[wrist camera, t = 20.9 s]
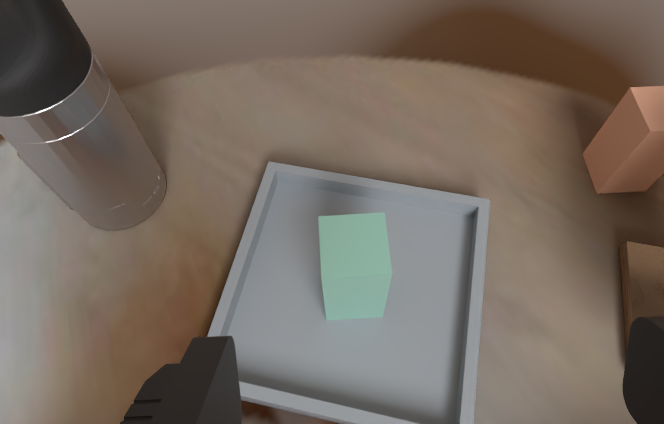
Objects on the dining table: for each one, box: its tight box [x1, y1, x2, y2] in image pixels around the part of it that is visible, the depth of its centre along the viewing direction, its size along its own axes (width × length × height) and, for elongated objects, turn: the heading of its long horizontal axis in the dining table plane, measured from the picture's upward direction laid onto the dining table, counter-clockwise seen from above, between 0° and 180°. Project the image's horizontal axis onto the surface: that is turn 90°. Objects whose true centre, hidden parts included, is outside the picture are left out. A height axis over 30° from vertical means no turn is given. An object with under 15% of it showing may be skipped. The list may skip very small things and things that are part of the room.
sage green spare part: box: [318, 212, 392, 321], centre depth 39 cm, size 5×5×10 cm
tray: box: [207, 161, 490, 424], centre depth 43 cm, size 22×22×3 cm
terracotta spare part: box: [583, 86, 664, 193], centre depth 46 cm, size 5×5×10 cm
